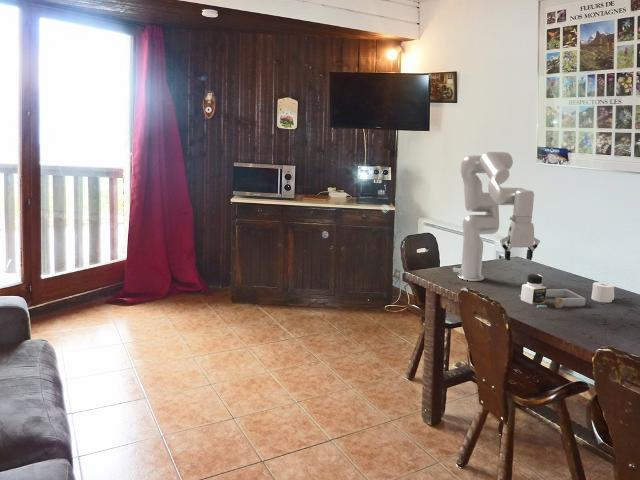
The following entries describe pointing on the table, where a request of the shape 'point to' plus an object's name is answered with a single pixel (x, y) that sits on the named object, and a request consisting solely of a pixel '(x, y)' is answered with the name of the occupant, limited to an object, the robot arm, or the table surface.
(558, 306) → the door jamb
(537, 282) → the medicine bottle
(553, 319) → the table surface
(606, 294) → the toilet paper
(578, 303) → the index socket
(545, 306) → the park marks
